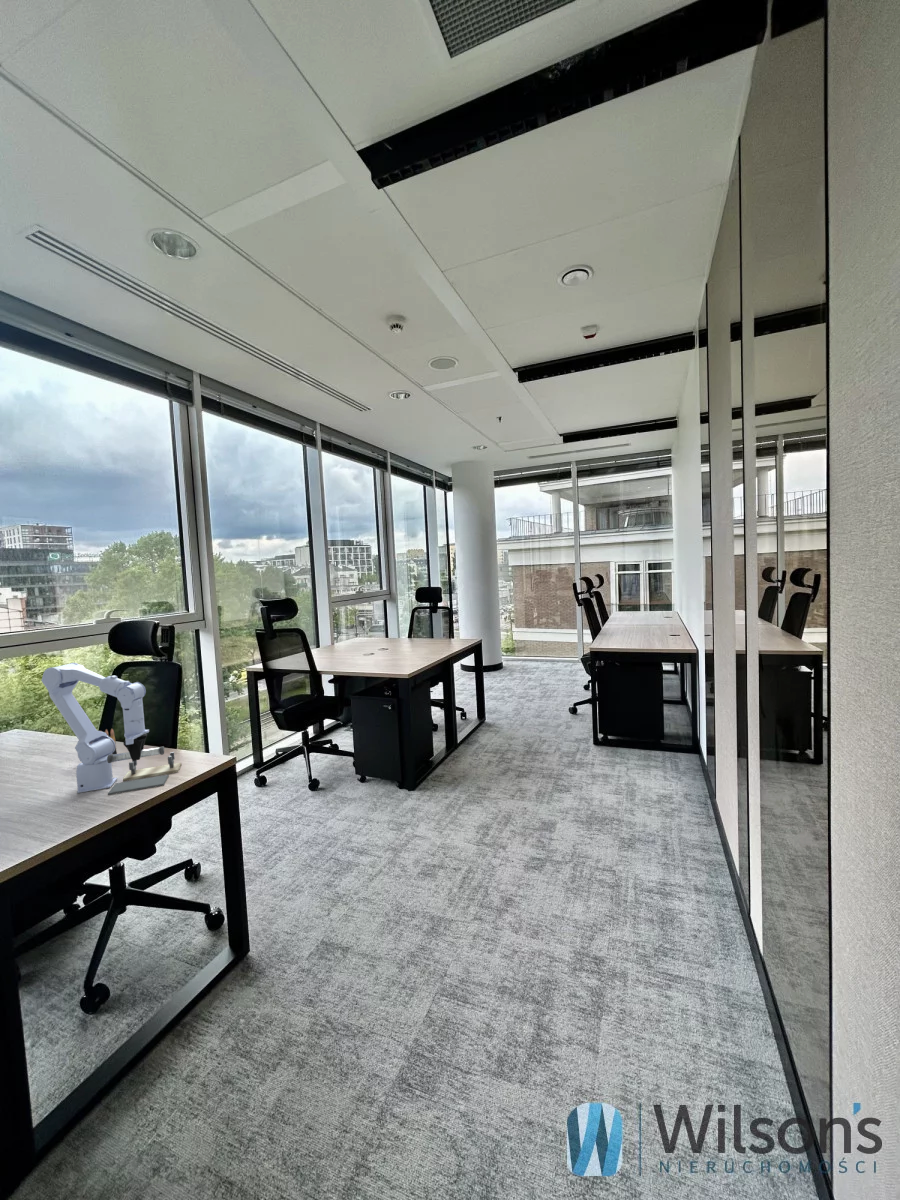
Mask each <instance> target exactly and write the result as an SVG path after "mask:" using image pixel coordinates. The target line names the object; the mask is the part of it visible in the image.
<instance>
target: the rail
mask: <svg viewBox="0 0 900 1200" xmlns="http://www.w3.org/2000/svg"><path fill="white" fill-rule="evenodd" d="M158 755H161V756H162V755H165V746H164V745H163V746H160V747H154V748H153V747H151V748H147V749H143V750H141V756H140V759H141V758H146V757H154V756H158ZM128 760H132V759H131V756H130V753H129V751H127V752H120V753H117V754H113V755H112V754H109V755H108V757H107V761H108V763H114V762H121V761H128Z"/></svg>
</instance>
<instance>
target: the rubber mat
mask: <svg viewBox="0 0 900 1200" xmlns="http://www.w3.org/2000/svg"><path fill="white" fill-rule="evenodd" d="M168 778H169V774H164V775H158V776H152V777H146V778H140V779H134V780H128V781H122V782H121V781H120V782H116V783H114V785H112V786H111V789H109V792H107V795H108V796H109V795H110V796H111V795H116V793H117V794H122V792H123V793H127V792H132V791H134V792H135V791H140V790H146V789H150V788H156V787H155V786H157V787H162V786H161V785H163V786H164V785H165V784H166V782H167V780H168Z"/></svg>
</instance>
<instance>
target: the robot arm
mask: <svg viewBox="0 0 900 1200" xmlns="http://www.w3.org/2000/svg"><path fill="white" fill-rule="evenodd" d="M79 682H83V683H86V684H89V685H92V686H96V687H98V688H99V690H100V692H101V693H105V694H107V695H110V696H112V697H115V698H117V700H118V701H119V703H120V707H121V708H122V714H123V727H124V728H123V729H124V735H123V736H124V738H125V740H124V741H123V746H124V747H125V748H126V749H127V752H129V753H130V756H131V759H130V760H131V762H132V761H135V760H137V761H140V760H141V758H140V756H141V750H144V747H145V743H146V740H147V737H148V734H149V732H150V729H146V726H145V714H144V703H143V698H144V697H145V696H146V693H147V691H146V689H147V688H146V686H144V684H142V683H141V682H139V681H136V682H133V683H132V682H130V681H129V680H124V679H121V678H118V675H107V676H106V677H105V676H103V675H101V674H98V673H96V672H94V671H92V670H90V669H87V668H86V667H85V666H84V665H83V664H79V663H77V662H70V663H68V664H63V665H58V666H53V667H52V666H51V667H48V668H46V669H44V671H43V673H42V677H41V683H42V684H43V685H44V687H45V688H46V690H47V692H48V695H49V697H50V699H51V701H52V702H53V704H54V705H55V707H56V708H57V710H58V711H59V712H60V714H61V716H62V717H63V719H64V720H65V721H66V723H67V724H68V726H69V728H70V729H71V730H72V732H73V734H74V735H75V737H76V738H77V739H78V741H77V743H76V745H75V747H74V749H75V751H76V752H77V757H78V759H79V761H80V762H79V763H78V764H77V767H76V773H75V774H76V785H77V791H76V793H77V794H80V793H81V794H82V793H86V792H91V791H97V790H98V791H99V790H103V789H109V788H112V787H113V786H114V785H113V784H115V782H116V781H117V779H118V777H114V776H113V768H112V767H113V765H112V763H113V762H112V763H108V761H107V757H108V755H109V754H112V753H113V752H114V751H115V748H116V749H117V743H116V744H115V742H114V740H113V739H112V738H111V736H110V735H109V736H108V735H107V734H106V733H105V731H102V730H98V729H96V727H95V725H94V724H93V723H92V720H91V719H90V718H89V716H88V715H87V713H86V712H85V711H84V709H83V707H82V706H81V705H80V703H79V702H78V700H77V699H76V697H75V696H74V694H73V690H74V689H75V688H76V686H77V684H79ZM90 743H91V744H90Z"/></svg>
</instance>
